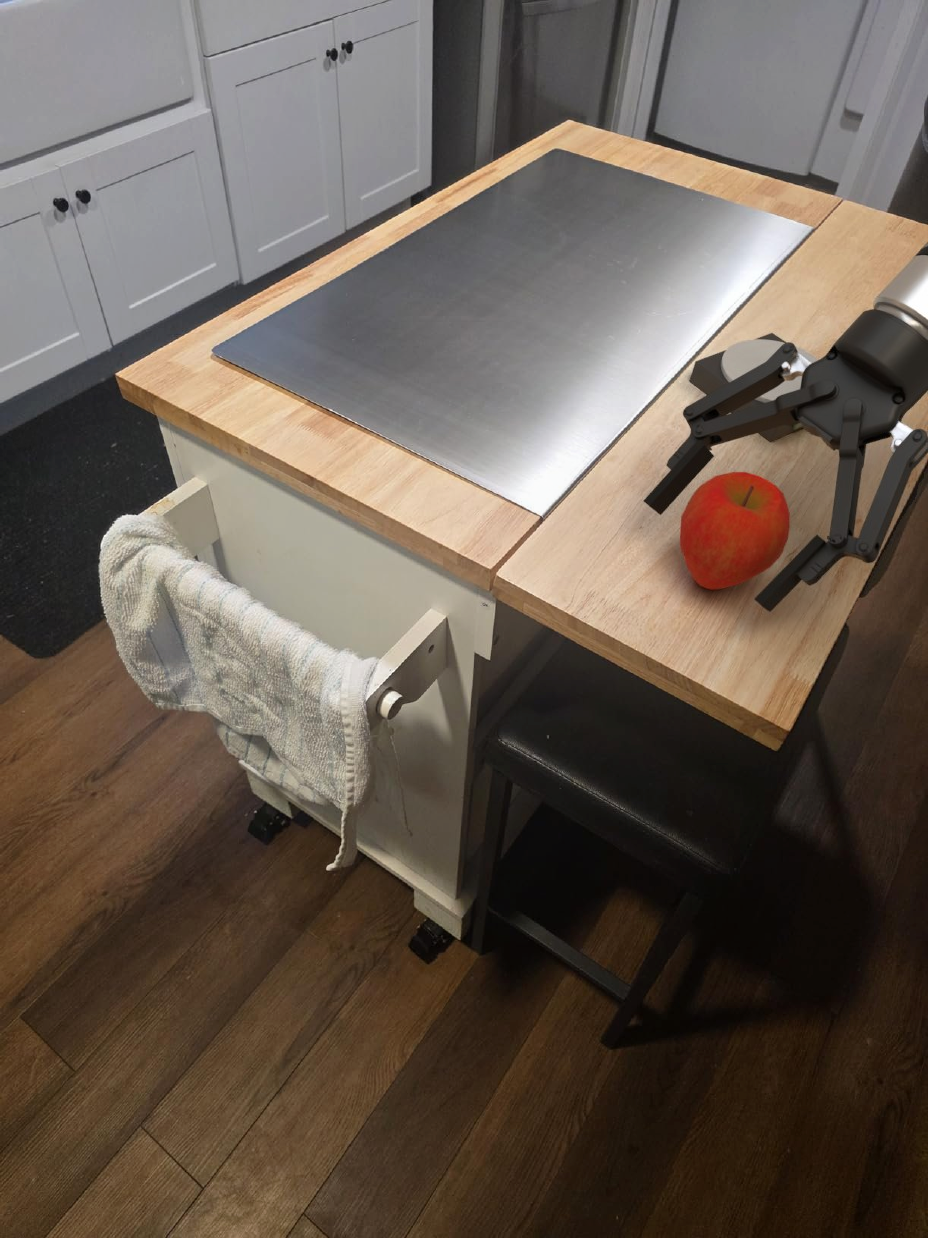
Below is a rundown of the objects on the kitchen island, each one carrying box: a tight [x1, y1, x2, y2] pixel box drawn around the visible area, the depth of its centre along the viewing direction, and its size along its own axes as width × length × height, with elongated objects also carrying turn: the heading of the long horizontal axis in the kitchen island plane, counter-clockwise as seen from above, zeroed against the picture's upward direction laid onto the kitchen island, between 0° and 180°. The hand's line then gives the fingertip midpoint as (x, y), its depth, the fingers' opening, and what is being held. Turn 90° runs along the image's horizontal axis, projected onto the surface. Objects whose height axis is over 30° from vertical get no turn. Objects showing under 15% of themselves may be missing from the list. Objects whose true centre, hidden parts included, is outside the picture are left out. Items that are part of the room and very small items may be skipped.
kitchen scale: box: [689, 332, 820, 443], centre depth 93 cm, size 12×12×3 cm
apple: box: [679, 471, 791, 591], centre depth 71 cm, size 9×8×11 cm
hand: (704, 555), depth 70 cm, fingers open, 12 cm apart
